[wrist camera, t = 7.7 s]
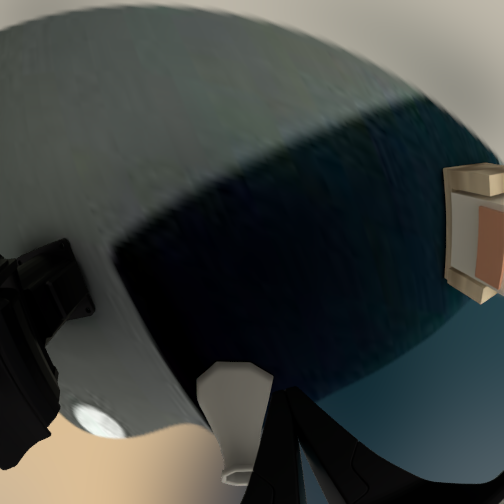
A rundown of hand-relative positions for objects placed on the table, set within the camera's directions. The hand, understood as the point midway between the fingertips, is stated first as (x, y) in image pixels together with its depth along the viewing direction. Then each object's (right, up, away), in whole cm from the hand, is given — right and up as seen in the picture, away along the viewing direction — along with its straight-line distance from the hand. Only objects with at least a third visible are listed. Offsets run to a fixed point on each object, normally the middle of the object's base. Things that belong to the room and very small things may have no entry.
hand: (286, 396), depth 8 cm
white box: (+19, +7, +11) cm, 23 cm away
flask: (-3, -7, +15) cm, 17 cm away
